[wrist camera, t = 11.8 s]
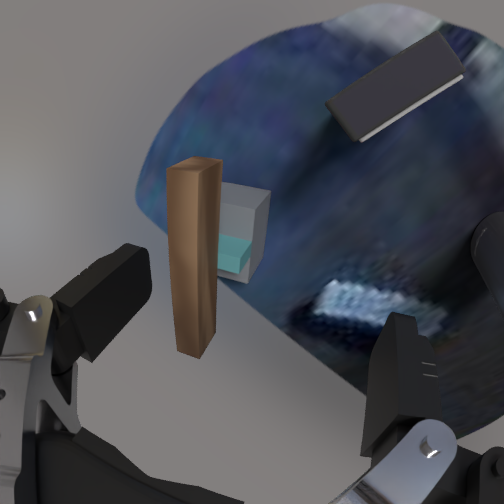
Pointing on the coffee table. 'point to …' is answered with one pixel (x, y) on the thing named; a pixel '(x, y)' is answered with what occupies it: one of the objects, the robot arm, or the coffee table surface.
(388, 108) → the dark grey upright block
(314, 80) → the coffee table surface
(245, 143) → the coffee table surface
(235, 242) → the balance stand
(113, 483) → the robot arm
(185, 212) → the walnut beam
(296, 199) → the coffee table surface
